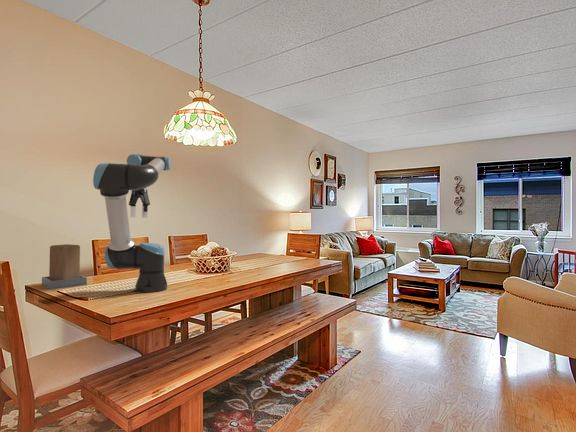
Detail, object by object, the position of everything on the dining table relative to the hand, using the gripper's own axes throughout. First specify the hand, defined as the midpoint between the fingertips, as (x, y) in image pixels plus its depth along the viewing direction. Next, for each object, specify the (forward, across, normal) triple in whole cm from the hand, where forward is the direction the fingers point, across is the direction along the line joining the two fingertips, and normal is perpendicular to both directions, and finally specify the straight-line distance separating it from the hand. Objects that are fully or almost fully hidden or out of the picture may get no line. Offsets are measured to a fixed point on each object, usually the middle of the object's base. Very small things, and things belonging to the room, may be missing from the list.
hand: (138, 217), depth 193 cm
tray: (+36, +12, +34) cm, 51 cm away
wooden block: (+35, +11, +34) cm, 50 cm away
